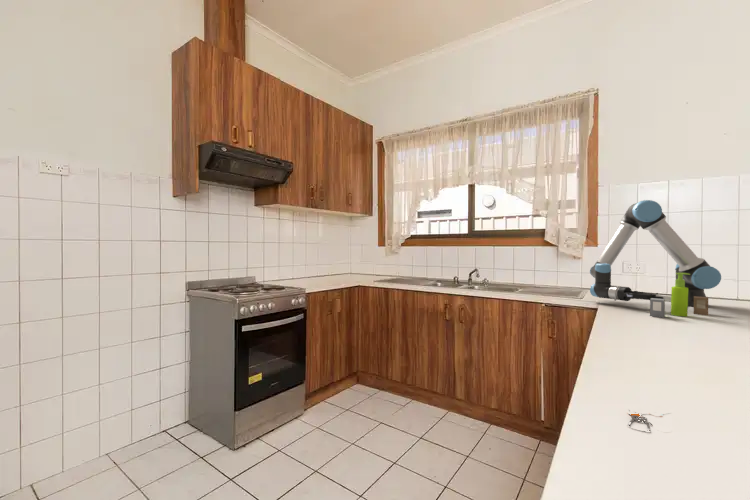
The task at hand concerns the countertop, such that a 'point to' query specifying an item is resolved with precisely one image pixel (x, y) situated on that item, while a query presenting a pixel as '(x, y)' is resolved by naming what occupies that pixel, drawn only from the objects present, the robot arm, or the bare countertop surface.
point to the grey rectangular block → (657, 307)
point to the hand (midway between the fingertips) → (671, 299)
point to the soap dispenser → (679, 297)
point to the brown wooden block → (701, 305)
